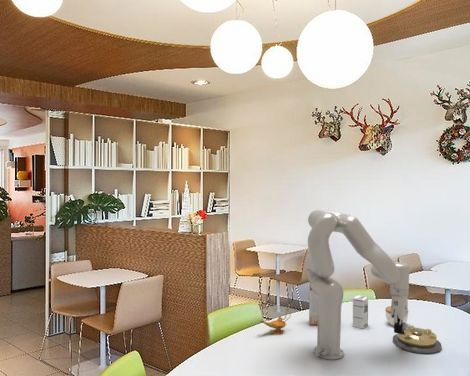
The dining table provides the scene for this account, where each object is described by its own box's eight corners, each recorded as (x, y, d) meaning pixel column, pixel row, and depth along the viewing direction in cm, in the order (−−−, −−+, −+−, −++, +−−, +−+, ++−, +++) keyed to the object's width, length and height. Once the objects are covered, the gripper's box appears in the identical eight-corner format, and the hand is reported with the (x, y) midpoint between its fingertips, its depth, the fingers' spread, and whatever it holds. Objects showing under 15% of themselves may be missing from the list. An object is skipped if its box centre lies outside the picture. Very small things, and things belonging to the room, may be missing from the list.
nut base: (436, 358, 182) (436, 354, 182) (387, 346, 193) (387, 342, 193) (445, 342, 198) (445, 338, 198) (399, 332, 210) (399, 329, 209)
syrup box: (363, 329, 213) (364, 299, 213) (352, 326, 217) (352, 297, 216) (367, 325, 218) (368, 297, 217) (356, 323, 221) (357, 294, 221)
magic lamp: (255, 333, 206) (255, 310, 206) (285, 326, 216) (286, 304, 215) (264, 338, 201) (264, 314, 200) (294, 331, 210) (295, 308, 209)
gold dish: (432, 351, 184) (432, 332, 184) (393, 342, 194) (393, 324, 193) (439, 339, 197) (440, 321, 197) (402, 331, 207) (403, 314, 206)
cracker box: (336, 322, 222) (337, 281, 221) (338, 326, 216) (339, 284, 215) (308, 321, 224) (309, 280, 223) (309, 325, 218) (310, 283, 217)
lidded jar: (409, 329, 214) (410, 310, 213) (386, 327, 216) (387, 308, 215) (405, 321, 224) (406, 303, 224) (383, 320, 226) (384, 302, 226)
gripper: (403, 297, 182) (402, 340, 183) (412, 288, 195) (411, 329, 196) (385, 293, 187) (384, 336, 188) (395, 286, 199) (394, 325, 200)
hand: (398, 332), depth 192 cm, fingers closed
